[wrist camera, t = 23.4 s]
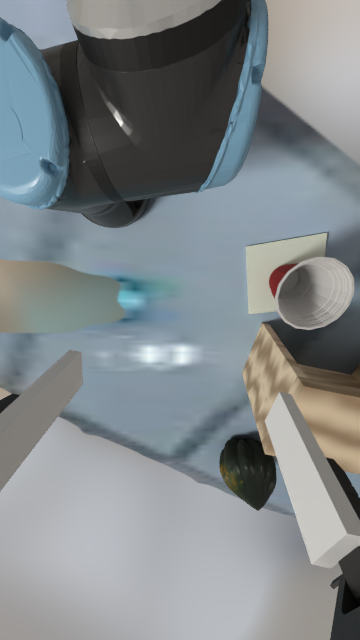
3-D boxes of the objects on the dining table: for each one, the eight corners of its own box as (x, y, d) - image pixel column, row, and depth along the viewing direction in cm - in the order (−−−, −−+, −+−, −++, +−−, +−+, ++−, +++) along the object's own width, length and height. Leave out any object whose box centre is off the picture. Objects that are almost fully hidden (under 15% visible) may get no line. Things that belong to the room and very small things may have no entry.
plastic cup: (325, 259, 38) (376, 271, 27) (295, 310, 42) (328, 338, 31) (271, 241, 37) (300, 246, 26) (246, 295, 42) (262, 317, 31)
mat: (245, 246, 38) (246, 246, 38) (325, 232, 36) (327, 232, 36) (248, 313, 44) (249, 314, 43) (318, 305, 42) (319, 306, 41)
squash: (233, 436, 52) (228, 510, 46) (288, 448, 53) (289, 522, 47) (217, 430, 65) (211, 486, 59) (261, 439, 66) (259, 496, 60)
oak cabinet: (262, 322, 44) (303, 386, 26) (379, 346, 44) (503, 427, 26) (242, 373, 51) (264, 454, 32) (344, 394, 50) (426, 488, 32)
